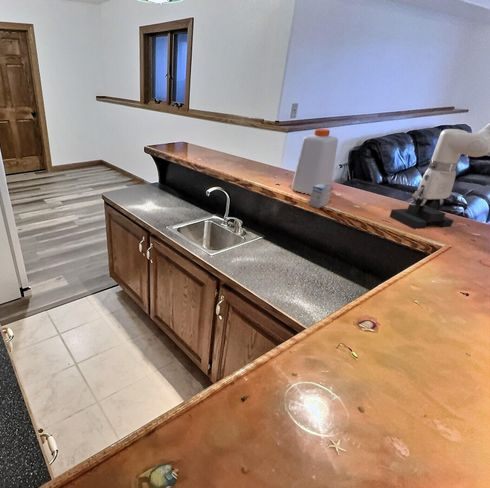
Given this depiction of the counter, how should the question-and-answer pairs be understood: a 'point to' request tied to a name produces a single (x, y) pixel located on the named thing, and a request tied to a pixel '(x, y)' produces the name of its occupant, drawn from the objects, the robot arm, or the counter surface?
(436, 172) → the robot arm
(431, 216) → the black pad
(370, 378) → the counter surface
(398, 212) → the base pad
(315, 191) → the medicine box
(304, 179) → the plastic bottle
